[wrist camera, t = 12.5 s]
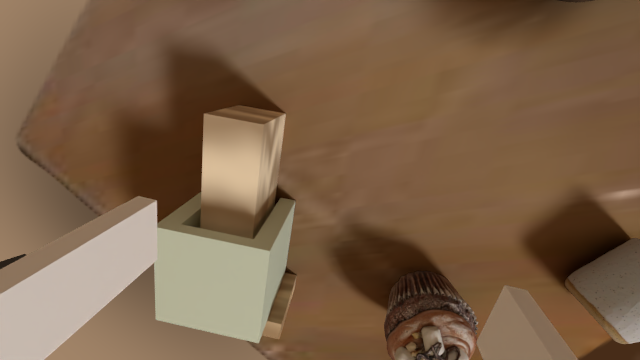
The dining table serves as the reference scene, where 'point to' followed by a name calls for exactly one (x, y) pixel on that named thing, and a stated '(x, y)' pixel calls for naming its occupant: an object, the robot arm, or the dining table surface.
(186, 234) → the socket block
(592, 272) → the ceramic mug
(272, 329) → the board
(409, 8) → the dining table surface
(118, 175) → the dining table surface
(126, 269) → the robot arm
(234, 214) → the light wood rectangular block
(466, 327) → the cupcake
